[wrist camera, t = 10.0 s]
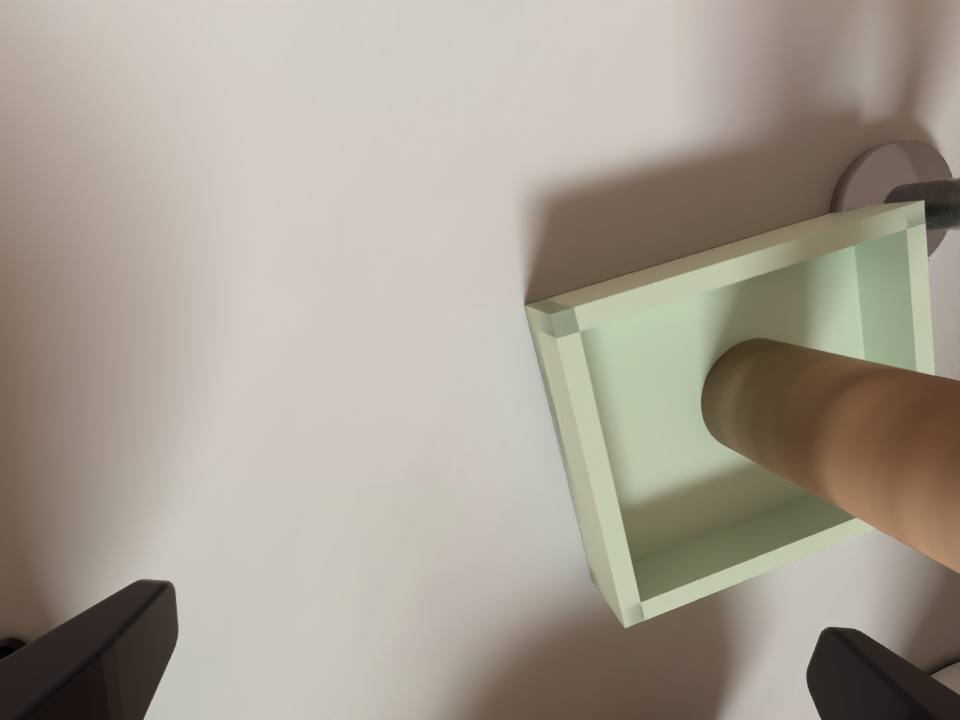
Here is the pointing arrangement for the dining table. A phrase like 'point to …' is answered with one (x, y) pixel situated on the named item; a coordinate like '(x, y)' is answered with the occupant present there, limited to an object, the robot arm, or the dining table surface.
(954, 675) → the cylinder vase
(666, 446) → the tray
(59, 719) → the robot arm
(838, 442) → the brown coffee tumbler
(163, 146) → the dining table surface
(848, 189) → the t stake
